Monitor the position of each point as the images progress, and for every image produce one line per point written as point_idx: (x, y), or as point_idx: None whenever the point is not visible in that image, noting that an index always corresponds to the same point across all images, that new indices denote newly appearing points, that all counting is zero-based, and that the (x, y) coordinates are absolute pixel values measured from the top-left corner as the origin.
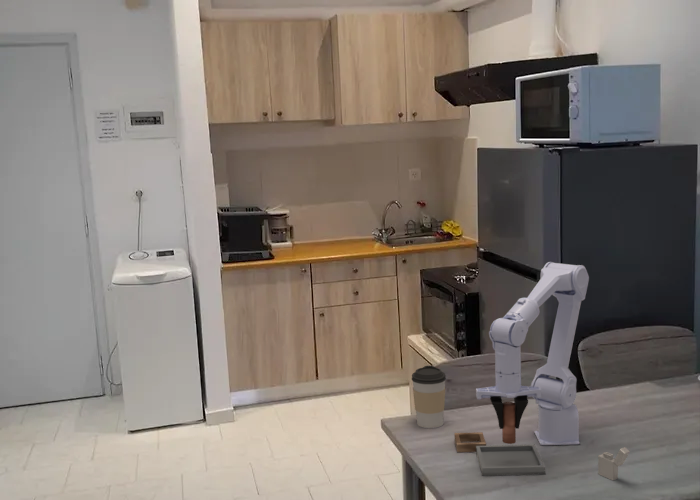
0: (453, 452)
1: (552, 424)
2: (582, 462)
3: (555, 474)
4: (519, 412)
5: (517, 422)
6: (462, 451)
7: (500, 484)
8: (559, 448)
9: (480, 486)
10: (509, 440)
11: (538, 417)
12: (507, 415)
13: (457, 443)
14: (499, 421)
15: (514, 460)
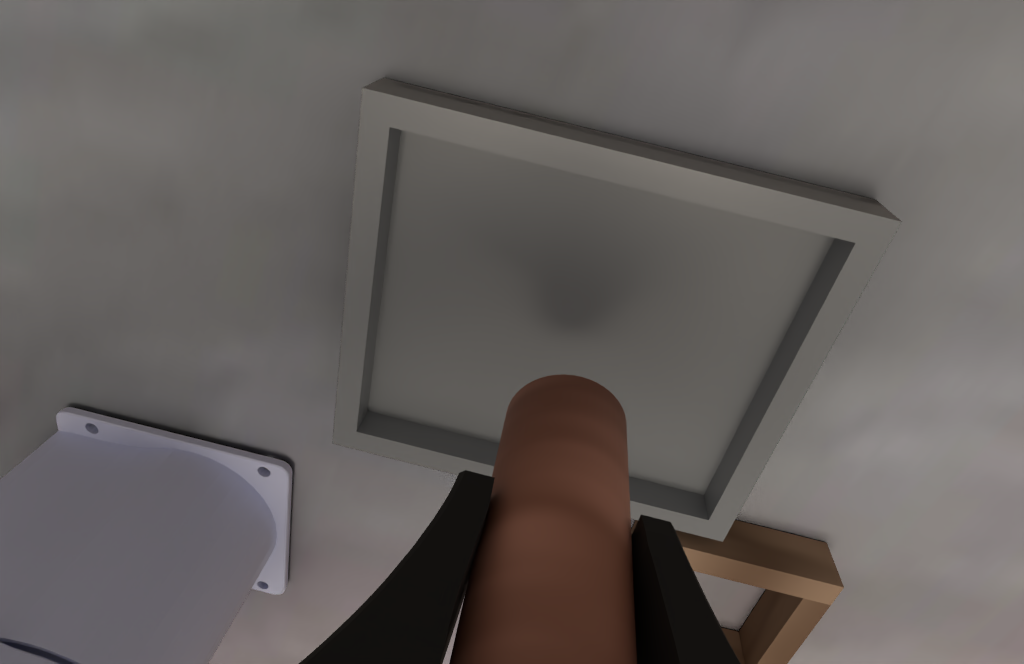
0: (847, 549)
1: (139, 554)
2: (76, 187)
3: (306, 56)
4: (407, 638)
5: (468, 521)
6: (795, 538)
7: (824, 2)
8: (191, 402)
9: (1021, 13)
10: (585, 399)
11: (214, 650)
12: (597, 648)
13: (831, 597)
14: (705, 598)
15: (535, 325)
